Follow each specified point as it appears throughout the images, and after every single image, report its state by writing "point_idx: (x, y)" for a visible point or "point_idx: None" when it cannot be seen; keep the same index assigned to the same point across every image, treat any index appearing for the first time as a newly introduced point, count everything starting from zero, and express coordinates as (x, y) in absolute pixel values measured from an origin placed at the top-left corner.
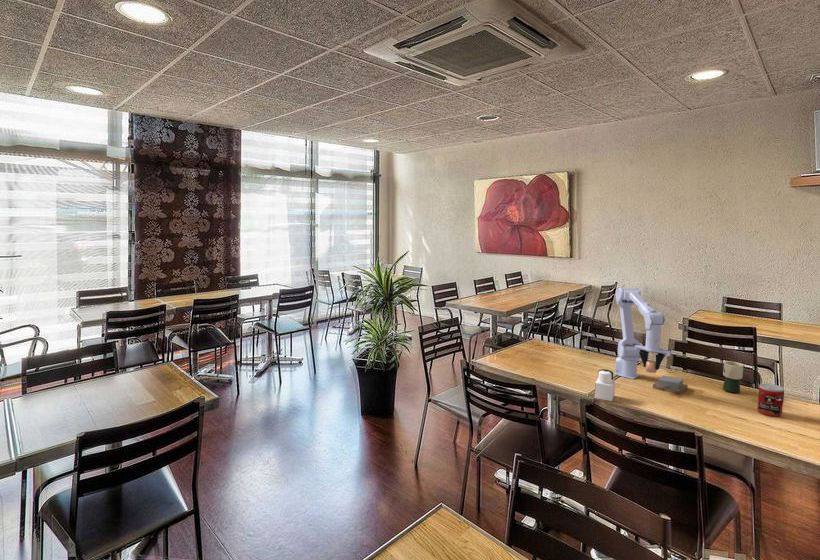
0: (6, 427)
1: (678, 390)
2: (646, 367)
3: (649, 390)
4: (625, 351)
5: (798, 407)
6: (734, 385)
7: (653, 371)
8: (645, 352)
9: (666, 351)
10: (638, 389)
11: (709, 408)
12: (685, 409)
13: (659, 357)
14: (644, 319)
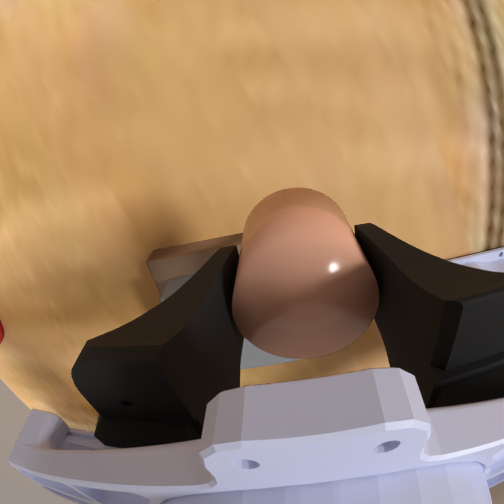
0: None
1: (154, 264)
2: (332, 211)
3: (284, 171)
4: None
5: (21, 389)
6: (99, 418)
7: (250, 217)
8: (439, 377)
9: (65, 486)
10: (335, 127)
11: (12, 208)
12: (27, 97)
13: (99, 341)
14: None
